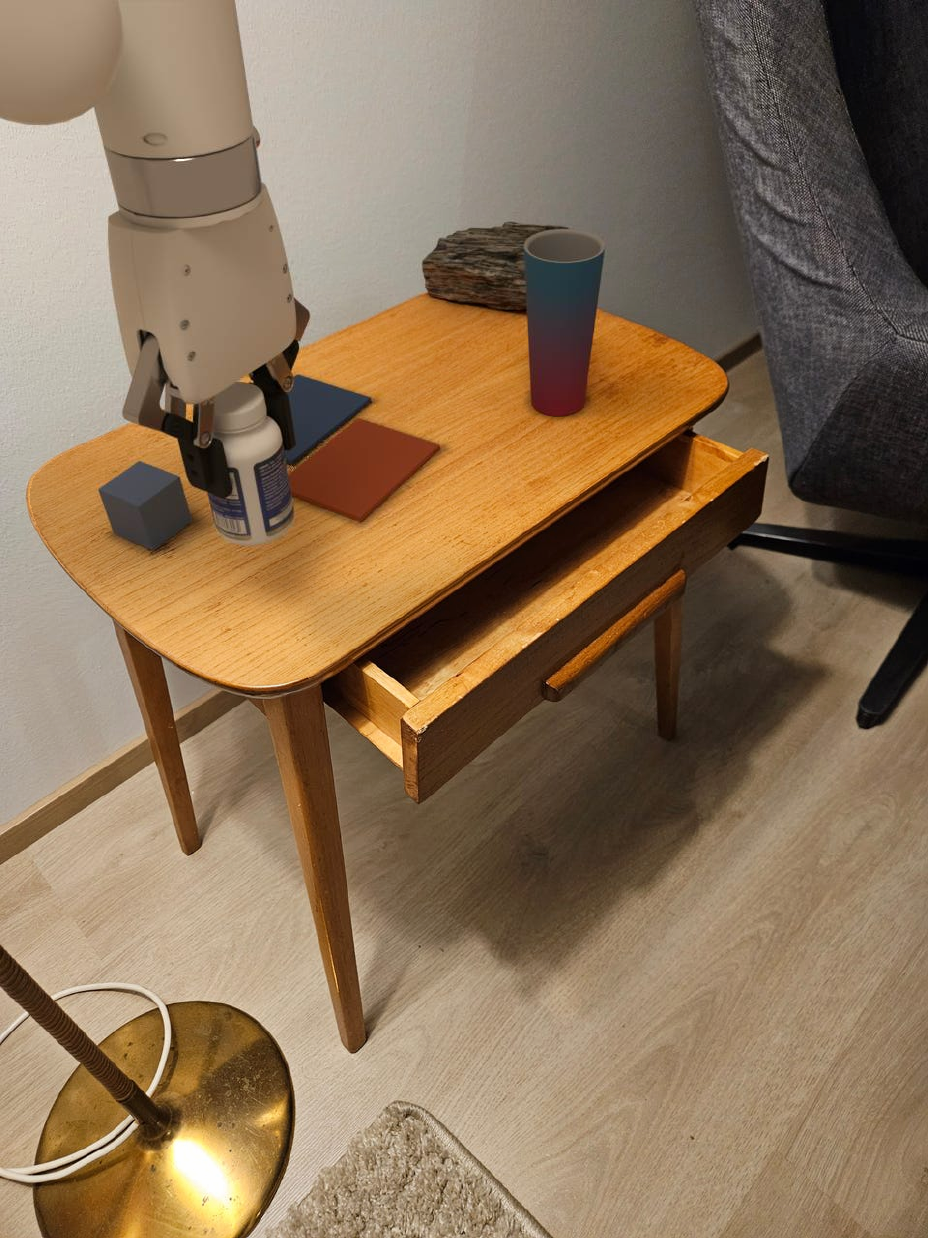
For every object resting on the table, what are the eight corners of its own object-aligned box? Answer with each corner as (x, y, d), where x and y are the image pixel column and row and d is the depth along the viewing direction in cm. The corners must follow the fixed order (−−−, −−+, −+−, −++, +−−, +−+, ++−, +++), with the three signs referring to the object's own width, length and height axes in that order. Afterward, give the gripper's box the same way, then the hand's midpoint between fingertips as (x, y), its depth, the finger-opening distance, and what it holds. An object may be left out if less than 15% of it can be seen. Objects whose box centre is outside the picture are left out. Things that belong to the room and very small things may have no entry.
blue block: (153, 551, 77) (138, 506, 73) (113, 534, 78) (97, 489, 75) (192, 520, 79) (180, 476, 76) (153, 504, 81) (139, 460, 78)
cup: (511, 390, 92) (512, 235, 82) (577, 378, 94) (586, 223, 83) (536, 427, 88) (540, 267, 77) (605, 413, 89) (618, 254, 79)
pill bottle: (287, 494, 68) (267, 369, 61) (302, 539, 64) (283, 411, 58) (210, 509, 67) (181, 383, 60) (221, 556, 63) (191, 426, 56)
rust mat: (360, 522, 79) (360, 517, 78) (275, 489, 82) (274, 485, 82) (440, 449, 86) (439, 444, 85) (358, 422, 89) (358, 417, 89)
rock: (464, 263, 114) (460, 210, 110) (590, 278, 109) (591, 223, 104) (420, 305, 106) (414, 250, 102) (553, 324, 101) (553, 267, 97)
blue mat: (292, 465, 85) (291, 460, 84) (215, 437, 88) (214, 433, 88) (371, 401, 92) (371, 397, 91) (298, 378, 95) (297, 373, 95)
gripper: (241, 118, 57) (283, 392, 69) (2, 213, 46) (103, 516, 58) (344, 139, 54) (368, 421, 66) (114, 245, 43) (194, 557, 56)
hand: (243, 463), depth 62 cm, fingers closed on pill bottle, 5 cm apart
